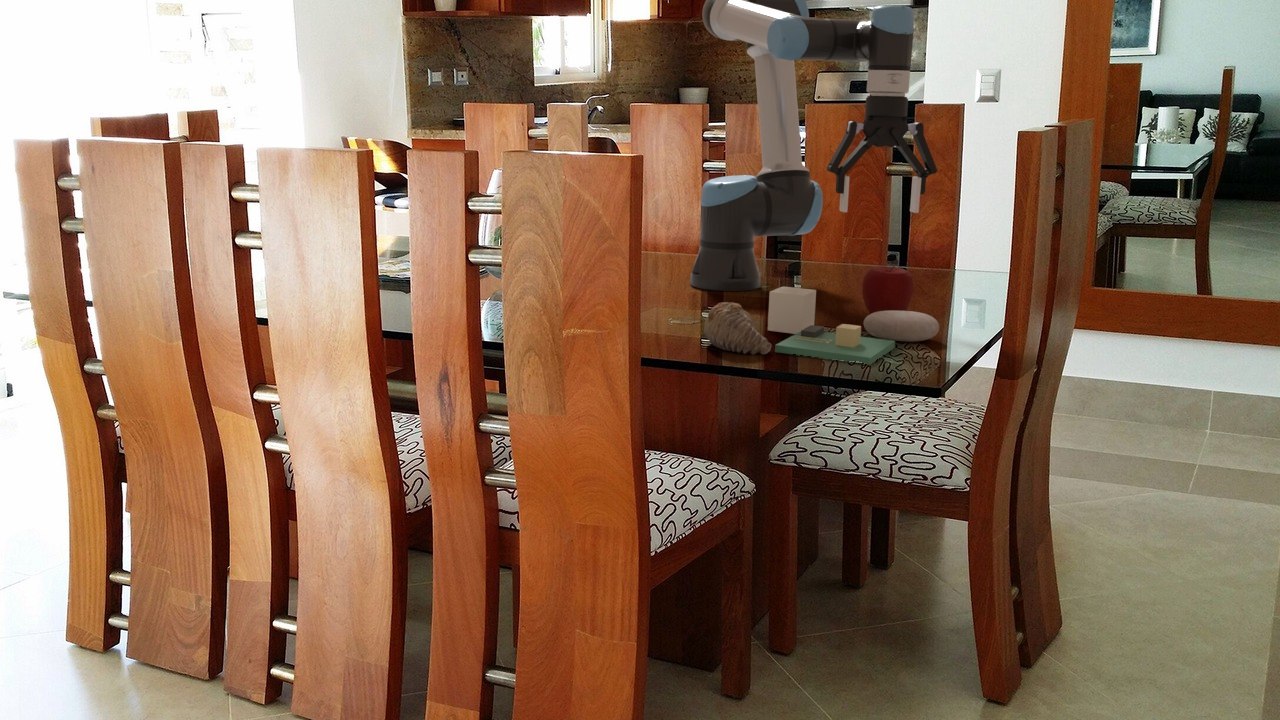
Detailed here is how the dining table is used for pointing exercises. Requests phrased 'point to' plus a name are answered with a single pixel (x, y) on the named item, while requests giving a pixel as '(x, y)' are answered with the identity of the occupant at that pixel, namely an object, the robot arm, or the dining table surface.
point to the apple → (887, 289)
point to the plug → (791, 309)
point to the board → (836, 344)
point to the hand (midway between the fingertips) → (878, 212)
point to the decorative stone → (901, 325)
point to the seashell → (734, 330)
